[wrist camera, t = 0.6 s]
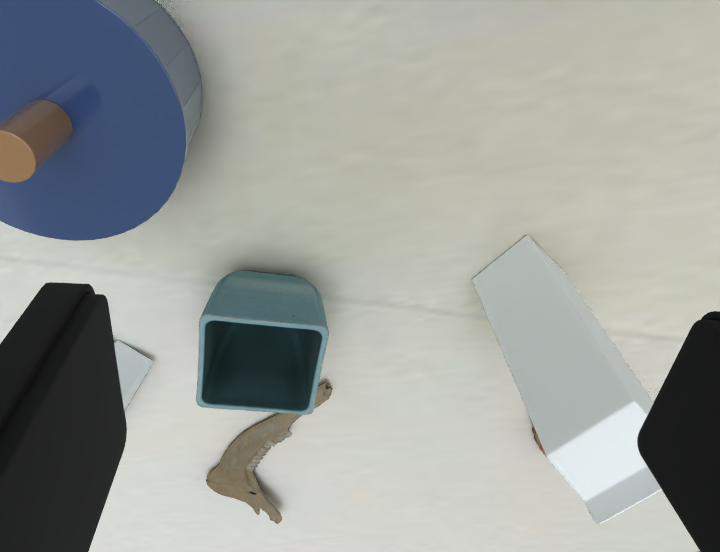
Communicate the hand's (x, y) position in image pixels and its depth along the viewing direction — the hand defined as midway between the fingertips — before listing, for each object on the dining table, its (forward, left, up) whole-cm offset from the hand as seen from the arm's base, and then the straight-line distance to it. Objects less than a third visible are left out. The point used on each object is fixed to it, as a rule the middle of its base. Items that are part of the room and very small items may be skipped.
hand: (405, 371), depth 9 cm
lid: (+8, -14, -25) cm, 30 cm away
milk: (+14, +21, -33) cm, 42 cm away
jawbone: (+40, +8, -34) cm, 53 cm away
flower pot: (+22, +1, -34) cm, 40 cm away
